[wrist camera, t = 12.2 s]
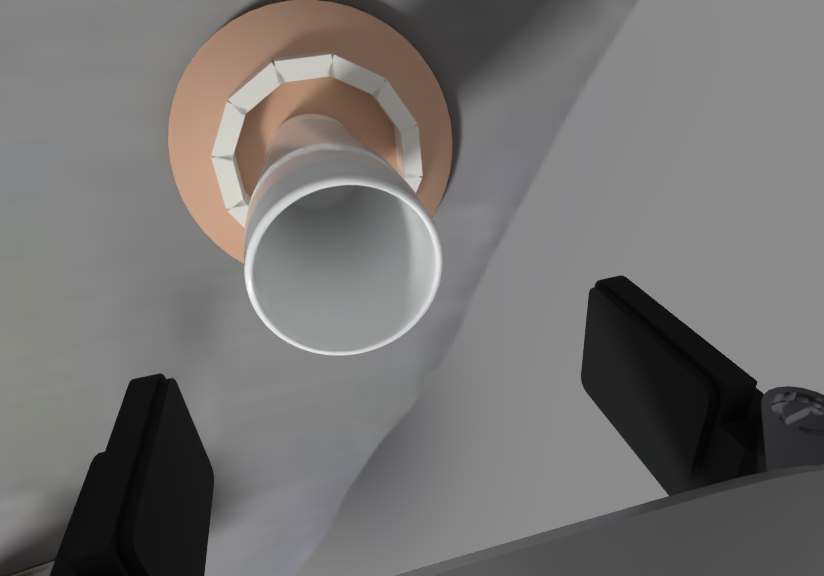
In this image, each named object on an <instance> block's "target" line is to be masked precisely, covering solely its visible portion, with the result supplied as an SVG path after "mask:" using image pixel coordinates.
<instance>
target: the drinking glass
mask: <svg viewBox="0 0 824 576" xmlns="http://www.w3.org/2000/svg"><path fill="white" fill-rule="evenodd" d="M442 271H443V249H442V243H441V239H440V236H439V233H438V230H437V228H436V225H435V223H434V222H433V220H432V218H431V216H430V215H429V213H428V212H427V210H426V208H425V207H424V205H423V203H422V202H421V200H420V199H419V197H418V196H417V194H416V193H415V192H414V190H413V189H412V187H411V186H410V185H409V184H408V182H407V181H406V180H405V179H404V178H403V177H402V175H401V174H400V173H399V172H398V171H397V170H396V169H395V168H394V167H393V166H392V165H391V164H390V163H389V162H387V161H386V160H385V159H384V158H383V157H381V156H380V155H379V154H377V153H376V152H375V151H373V150H372V149H371V148H369V147H368V146H367V145H365V144H364V143H363V142H361V141H360V140H359V139H357V138H356V137H355V136H354V135H353V134H352V133H351V132H350V130H349V129H348V128H347V127H346V126H345V125H343V124H342V123H341V122H339V121H338V120H336V119H334V118H332V117H329V116H326V115H323V114H316V113H308V114H302V115H298V116H295V117H293V118H290V119H289V120H287V121H285V122H284V123H283V124H281V125H280V126H279V127H278V128H277V129H276V131H275V132H274V133H273V135H272V136H271V138H270V140H269V143H268V145H267V149H266V154H265V161H264V164H263V166H262V169H261V172H260V175H259V177H258V180H257V182H256V185H255V188H254V190H253V193H252V196H251V200H250V203H249V207H248V212H247V217H246V223H245V233H244V273H245V283H246V288H247V292H248V295H249V298H250V300H251V303H252V305H253V307H254V309H255V311H256V312H257V314H258V315H259V317H260V318H261V320H262V321H263V322H264V323H265V324H266V326H267V327H268V328H269V329H271V330H272V331H273V332H274V333H275V334H276V335H278V336H279V337H280V338H282V339H283V340H285V341H286V342H288V343H290V344H292V345H294V346H296V347H298V348H301V349H303V350H307V351H310V352H314V353H319V354H325V355H352V354H359V353H363V352H367V351H371V350H374V349H377V348H379V347H382V346H384V345H386V344H388V343H390V342H392V341H394V340H396V339H397V338H399V337H400V336H402V335H403V334H405V333H406V332H407V331H408V330H410V329H411V328H412V327H413V326H414V325H415V324H416V323H417V322H418V321H419V320H420V319H421V318H422V316H423V315H424V314H425V313H426V311H427V310H428V308H429V307H430V305H431V303H432V302H433V300H434V298H435V296H436V293H437V291H438V288H439V285H440V282H441V278H442Z"/></svg>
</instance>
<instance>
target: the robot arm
mask: <svg viewBox="0 0 824 576" xmlns="http://www.w3.org/2000/svg"><path fill="white" fill-rule="evenodd" d="M581 381H582V384H583V387H584V389H585V391H586V392H587V393H588V395H589V396H590V397H591V398H592V400H593V401H594V402H595V404H596V405H597V406H598V407H599V408H600V410H601V411H602V412H603V414H604V415H605V416H606V417H607V419H608V420H609V421H610V422H611V424H612V425H613V426H614V427H615V428H616V430H617V431H618V432H619V434H620V435H621V436H622V437H623V438H624V440H625V441H626V442H627V444H628V445H629V446H630V447H631V449H632V450H633V451H634V452H635V454H636V455H637V456H638V457H639V459H641V461H642V462H643V464H644V465H645V466H646V467H647V469H648V470H649V471H650V472H651V474H652V475H653V476H654V477H655V478H656V480H657V481H658V482H659V483H660V485H661V486H662V487H663V489H664V490H665V491H666V492H667V494H668V495H669V496H668V497H665V498H662V499H658V500H654V501H651V502H647V503H644V504H641V505H637V506H633V507H630V508H626V509H623V510H619V511H616V512H612V513H609V514H605V515H602V516H598V517H595V518H591V519H587V520H584V521H580V522H577V523H574V524H570V525H566V526H563V527H560V528H556V529H553V530H549V531H546V532H542V533H539V534H535V535H532V536H529V537H525V538H522V539H519V540H515V541H511V542H508V543H505V544H501V545H498V546H494V547H491V548H487V549H484V550H480V551H477V552H474V553H470V554H467V555H463V556H460V557H456V558H453V559H450V560H446V561H443V562H439V563H436V564H432V565H429V566H426V567H422V568H419V569H416V570H412V571H409V572H405V573H402V574H399V575H395V576H824V395H822V394H820V393H818V392H815V391H811V390H808V389H804V388H797V387H777V388H774V389H771V390H768V391H767V392H766V393H765V394H763V393H762V392H761V391H759V390H758V389H757V388H756V385H757V381H756V380H755V379H754V378H752V377H751V376H750V375H749V374H747V373H746V372H745V371H743V370H742V369H741V368H740V367H738V366H737V365H736V364H735V363H733V362H732V361H731V360H730V359H728V358H727V357H726V356H725V355H723V354H722V353H721V352H719V351H718V350H717V349H716V348H714V347H713V346H712V345H711V344H709V343H708V342H707V341H706V340H704V339H703V338H702V337H701V336H699V335H698V334H697V333H695V332H694V331H693V330H692V329H691V328H689V327H688V326H687V325H686V324H684V323H683V322H682V321H680V320H679V319H678V318H677V317H675V316H674V315H673V314H672V313H670V312H669V311H668V310H667V309H665V308H664V307H663V306H662V305H660V304H659V303H658V302H656V301H655V300H654V299H653V298H651V297H650V296H649V295H648V294H646V293H645V292H644V291H643V290H641V289H640V288H639V287H638V286H636V285H635V284H634V283H632V282H631V281H630V280H629V279H627V278H626V277H624V276H616V277H611V278H607V279H603V280H599V281H597V282H596V284H595V287H594V288H592V289H591V290H590V291H589V298H588V309H587V319H586V329H585V340H584V350H583V360H582V371H581ZM213 487H214V475H213V470H212V466H211V464H210V461H209V459H208V456H207V454H206V452H205V449H204V447H203V444H202V442H201V440H200V437H199V435H198V432H197V430H196V428H195V425H194V423H193V420H192V418H191V416H190V413H189V411H188V408H187V406H186V404H185V401H184V399H183V396H182V394H181V392H180V389H179V387H178V384H177V382H176V380H175V379H174V378H170V379H166V378H165V376H164V375H163V374H161V373H160V374H155V375H150V376H146V377H141V378H136V379H133V380H131V381H130V383H129V385H128V388H127V391H126V393H125V396H124V399H123V402H122V405H121V408H120V411H119V413H118V416H117V419H116V422H115V425H114V428H113V431H112V433H111V436H110V439H109V442H108V445H107V448H106V451H105V452H101V453H98V454H97V455H96V456H95V457H94V459H93V461H92V462H91V465H90V467H89V470H88V473H87V476H86V478H85V481H84V484H83V486H82V489H81V492H80V494H79V497H78V500H77V502H76V505H75V508H74V511H73V513H72V516H71V519H70V521H69V524H68V527H67V529H66V532H65V535H64V538H63V540H62V543H61V546H60V548H59V551H58V554H57V556H56V559H55V562H54V564H53V567H52V570H51V573H50V575H49V576H204V572H205V563H206V553H207V544H208V535H209V525H210V516H211V506H212V497H213Z"/></svg>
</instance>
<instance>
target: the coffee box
mask: <svg viewBox="0 0 824 576" xmlns="http://www.w3.org/2000/svg"><path fill="white" fill-rule="evenodd" d="M54 562H55V561H52V562H49V563H46V564H43V565H40V566H37V567H34V568H31V569H28V570H25V571H22V572H19V573H16V574H13V575H10V576H49V575H50V573H51V570H52V567H53V564H54Z"/></svg>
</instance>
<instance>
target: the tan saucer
mask: <svg viewBox="0 0 824 576" xmlns="http://www.w3.org/2000/svg"><path fill="white" fill-rule="evenodd" d="M308 113H316V114H323V115H326V116H329V117H332V118H334V119H336V120H338V121H339V122H341V123H342V124H343V125H345V126H346V127H347V128H348V129H349V130H350V132H351V133H352V134H353V135H354V136H355V137H356V138H357V139H359V140H360V141H361V142H363V143H364V144H365V145H367V146H368V147H369V148H371V149H372V150H373V151H375V152H376V153H377V154H379V155H380V156H381V157H383V158H384V159H385V160H386V161H387V162H389V163H390V164H391V165H392V166H393V167H394V168H395V169H396V170H397V171H398V172H399V173H400V174H401V175H402V177H403V178H404V179H405V180H406V181H407V182H408V184H409V185H410V186H411V187H412V189H413V190H414V192H415V193H416V194H417V196H418V197H419V199H420V200H421V202H422V203H423V205H424V207H425V208H426V210H427V212H428V213H429V215H430V216H431V218H432V217H433V215H434V213H435V211H436V209H437V208H438V206H439V204H440V202H441V199H442V196H443V194H444V191H445V189H446V185H447V182H448V178H449V174H450V168H451V161H452V130H451V121H450V116H449V112H448V108H447V104H446V101H445V98H444V96H443V93H442V91H441V88H440V86H439V84H438V82H437V80H436V78H435V76H434V74H433V73H432V71H431V69H430V67H429V66H428V65H427V63H426V62H425V60H424V59H423V58H422V56H421V55H420V54H419V52H418V51H417V50H416V49H415V48H414V47H413V46H412V45H411V44H410V43H409V42H408V41H407V40H406V39H405V38H404V37H403V36H402V35H400V34H399V33H398V32H397V31H395V30H394V29H393V28H392V27H390V26H389V25H387V24H386V23H384V22H382V21H381V20H379V19H377V18H376V17H374V16H372V15H370V14H368V13H365V12H363V11H360V10H358V9H356V8H353V7H350V6H346V5H342V4H338V3H335V2H328V1H319V0H290V1H285V2H279V3H274V4H269V5H266V6H263V7H260V8H258V9H255V10H252V11H249V12H247V13H246V14H244V15H242V16H240V17H238V18H236V19H234V20H232V21H231V22H229V23H228V24H227V25H225V26H224V27H223V28H221V29H220V30H219V31H217V32H216V33H215V34H214V35H213V36H212V37H211V38H210V39H209V40H208V41H207V42H206V43H205V44H204V45H203V46H202V47H201V48H200V49H199V50H198V52H197V53H196V55H195V56H194V57H193V59H192V60H191V62H190V63H189V64H188V66H187V68H186V70H185V72H184V74H183V76H182V78H181V80H180V82H179V84H178V87H177V90H176V93H175V96H174V99H173V102H172V107H171V113H170V118H169V131H168V145H169V154H170V163H171V167H172V170H173V174H174V178H175V182H176V184H177V187H178V189H179V192H180V194H181V197H182V199H183V201H184V203H185V204H186V206H187V208H188V210H189V211H190V213H191V215H192V216H193V218H194V219H195V220H196V222H197V223H198V224H199V226H200V227H201V228H202V230H203V231H204V232H205V233H206V234H207V235H208V236H209V237H210V238H211V239H212V240H213V241H214V242H215V243H216V244H217V245H218V246H219V247H221V248H222V249H223V250H224V251H225V252H227V253H228V254H229V255H231V256H232V257H234V258H235V259H237V260H239V261H240V262H242V263H243V264H244V233H245V223H246V217H247V212H248V207H249V203H250V200H251V196H252V193H253V190H254V188H255V185H256V182H257V180H258V177H259V175H260V172H261V169H262V166H263V164H264V161H265V154H266V149H267V145H268V143H269V140H270V138H271V136H272V135H273V133H274V132H275V131H276V129H277V128H278V127H279V126H280V125H281V124H283V123H284V122H285V121H287V120H289V119H290V118H293V117H295V116H298V115H302V114H308Z"/></svg>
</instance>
